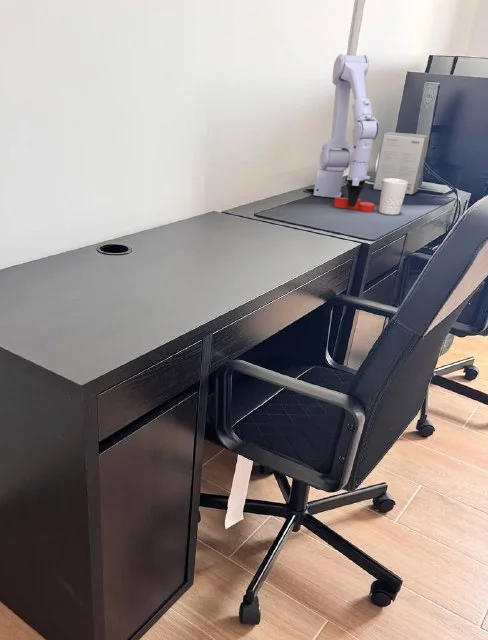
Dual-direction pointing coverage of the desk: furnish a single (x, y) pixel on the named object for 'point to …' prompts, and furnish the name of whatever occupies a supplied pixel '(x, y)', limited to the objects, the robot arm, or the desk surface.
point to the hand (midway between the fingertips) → (352, 204)
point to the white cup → (392, 196)
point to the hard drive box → (401, 159)
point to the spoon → (359, 205)
